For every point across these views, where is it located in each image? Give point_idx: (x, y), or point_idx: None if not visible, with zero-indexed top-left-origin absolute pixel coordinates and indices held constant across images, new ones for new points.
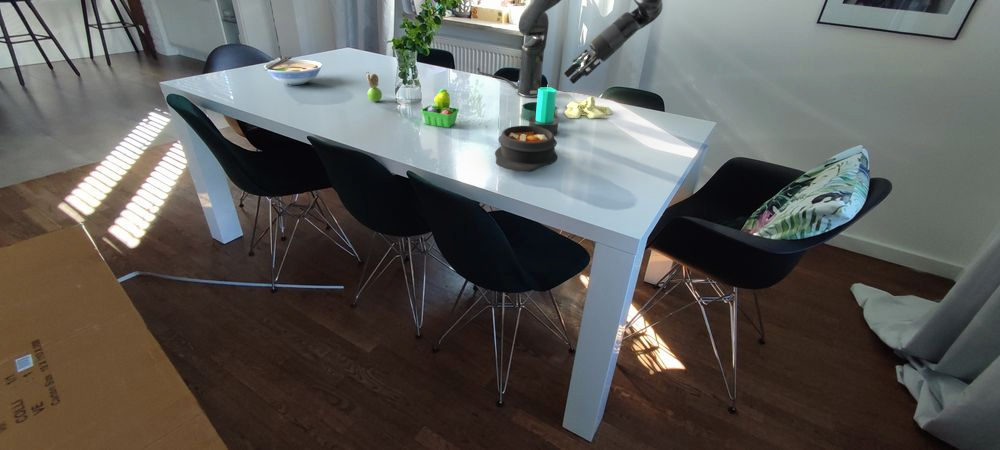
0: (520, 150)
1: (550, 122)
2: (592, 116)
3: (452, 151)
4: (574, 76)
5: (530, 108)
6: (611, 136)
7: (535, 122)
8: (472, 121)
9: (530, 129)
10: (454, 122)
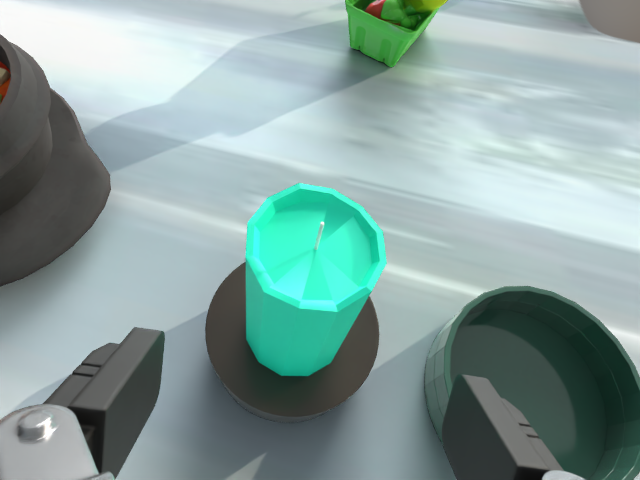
0: None
1: (248, 348)
2: None
3: (138, 16)
4: (96, 368)
5: (599, 363)
6: None
7: None
8: (421, 118)
9: None
10: (387, 61)
